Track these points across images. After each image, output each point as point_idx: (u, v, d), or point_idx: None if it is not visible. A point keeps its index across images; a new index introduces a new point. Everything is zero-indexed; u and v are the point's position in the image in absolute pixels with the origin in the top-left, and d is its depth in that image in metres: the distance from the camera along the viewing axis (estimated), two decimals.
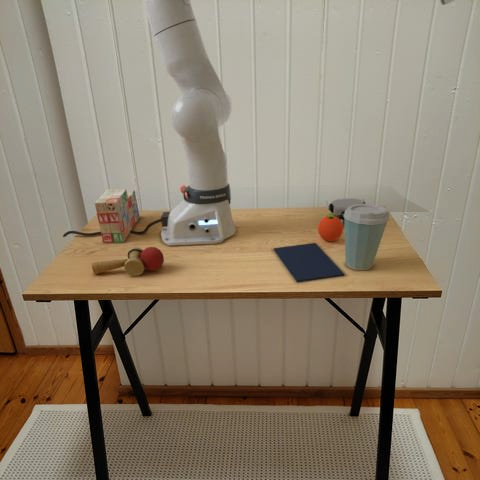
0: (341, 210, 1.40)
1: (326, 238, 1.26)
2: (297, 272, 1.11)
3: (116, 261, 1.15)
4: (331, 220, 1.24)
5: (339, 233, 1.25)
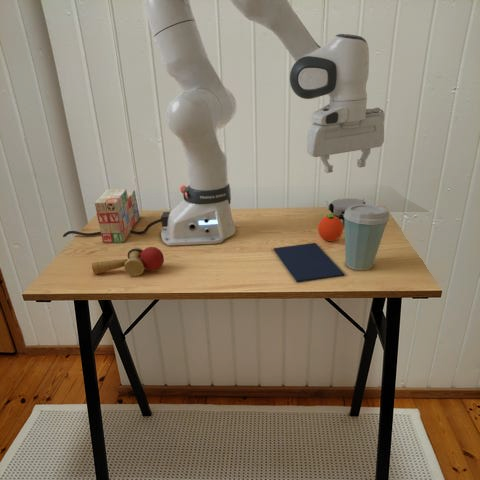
0: (341, 210, 1.40)
1: (326, 238, 1.26)
2: (297, 272, 1.11)
3: (116, 261, 1.15)
4: (331, 220, 1.24)
5: (339, 233, 1.25)
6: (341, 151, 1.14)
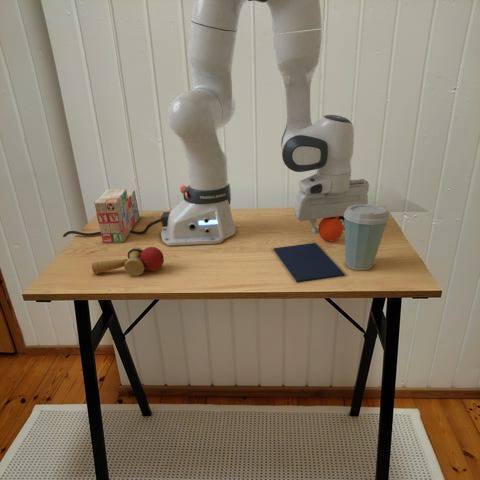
0: None
1: (326, 238, 1.26)
2: (297, 272, 1.11)
3: (116, 261, 1.15)
4: (331, 220, 1.24)
5: (339, 233, 1.25)
6: (325, 216, 1.23)
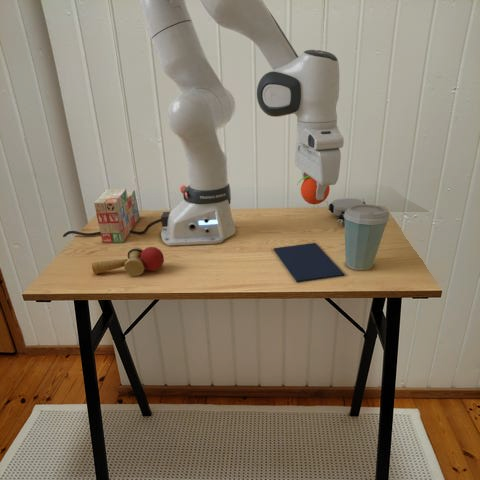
0: (341, 210, 1.40)
1: None
2: (297, 272, 1.11)
3: (116, 261, 1.15)
4: None
5: None
6: None
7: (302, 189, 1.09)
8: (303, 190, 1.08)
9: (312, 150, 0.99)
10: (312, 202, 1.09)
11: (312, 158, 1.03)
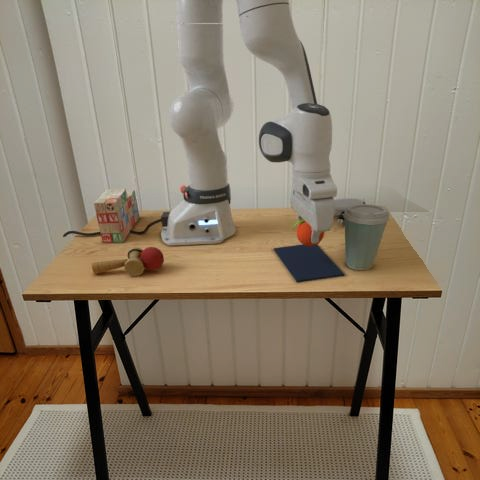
0: (341, 210, 1.40)
1: None
2: (297, 272, 1.11)
3: (116, 261, 1.15)
4: None
5: None
6: None
7: (298, 232, 1.12)
8: (298, 233, 1.12)
9: (307, 198, 1.02)
10: (307, 244, 1.13)
11: (307, 204, 1.06)
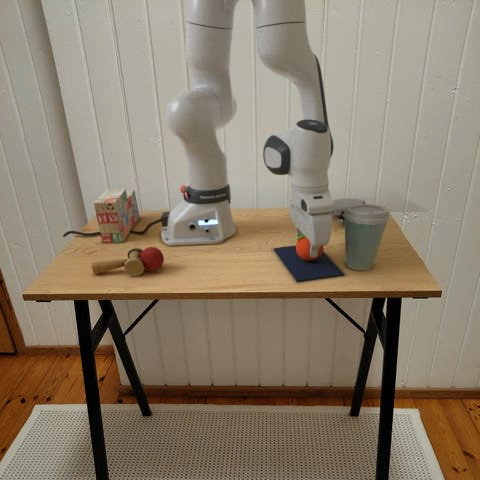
0: (341, 210, 1.40)
1: (319, 256, 1.15)
2: (297, 272, 1.11)
3: (116, 261, 1.15)
4: None
5: None
6: None
7: (297, 247, 1.14)
8: (298, 248, 1.14)
9: (305, 213, 1.04)
10: (307, 259, 1.15)
11: (305, 218, 1.08)
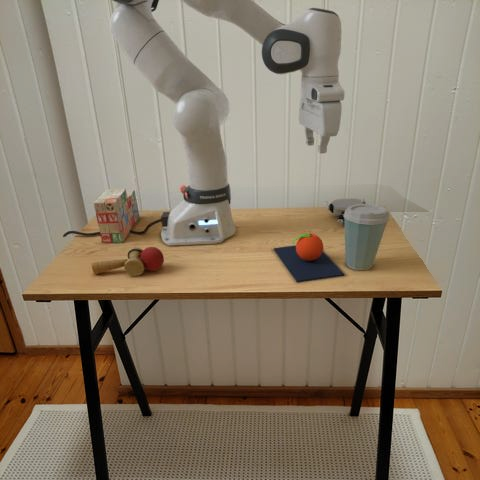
0: (341, 210, 1.40)
1: (319, 256, 1.15)
2: (297, 272, 1.11)
3: (116, 261, 1.15)
4: (317, 236, 1.14)
5: None
6: None
7: (297, 247, 1.14)
8: (298, 248, 1.14)
9: (315, 103, 1.06)
10: (307, 259, 1.15)
11: (315, 112, 1.10)
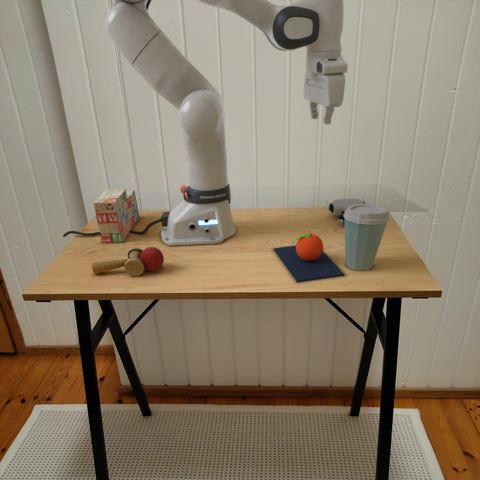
0: (341, 210, 1.40)
1: (319, 256, 1.15)
2: (297, 272, 1.11)
3: (116, 261, 1.15)
4: (317, 236, 1.14)
5: None
6: None
7: (297, 247, 1.14)
8: (298, 248, 1.14)
9: (320, 76, 1.14)
10: (307, 259, 1.15)
11: (320, 85, 1.18)
